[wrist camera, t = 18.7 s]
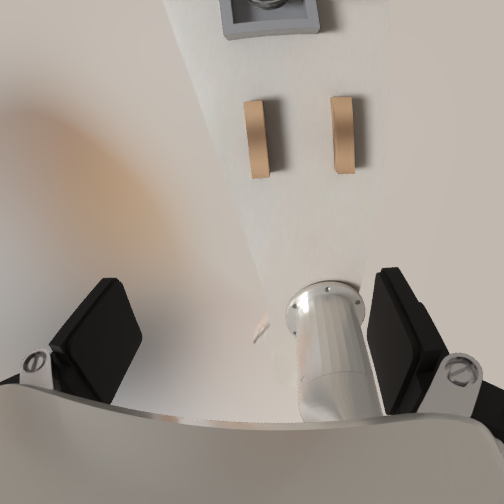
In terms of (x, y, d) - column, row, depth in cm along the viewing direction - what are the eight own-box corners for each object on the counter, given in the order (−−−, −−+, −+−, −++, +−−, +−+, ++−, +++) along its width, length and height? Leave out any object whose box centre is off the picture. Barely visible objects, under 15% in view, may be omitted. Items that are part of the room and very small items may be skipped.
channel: (350, 168, 34) (354, 173, 32) (253, 173, 36) (252, 178, 34) (346, 97, 30) (351, 97, 28) (245, 102, 32) (243, 102, 29)
